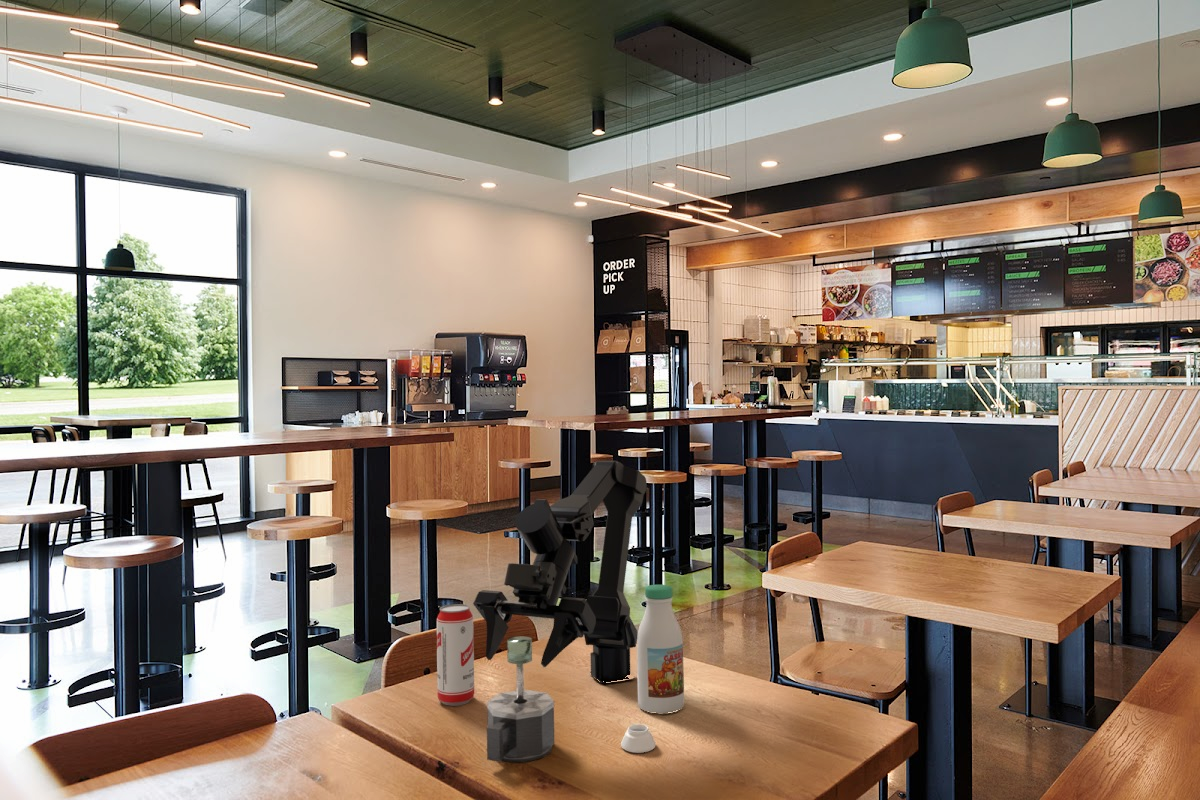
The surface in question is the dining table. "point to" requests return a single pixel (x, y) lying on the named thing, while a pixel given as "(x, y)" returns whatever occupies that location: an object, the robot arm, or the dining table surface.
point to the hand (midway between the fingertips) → (515, 662)
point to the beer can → (455, 655)
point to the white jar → (638, 739)
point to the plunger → (519, 660)
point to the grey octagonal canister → (520, 727)
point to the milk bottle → (660, 654)
